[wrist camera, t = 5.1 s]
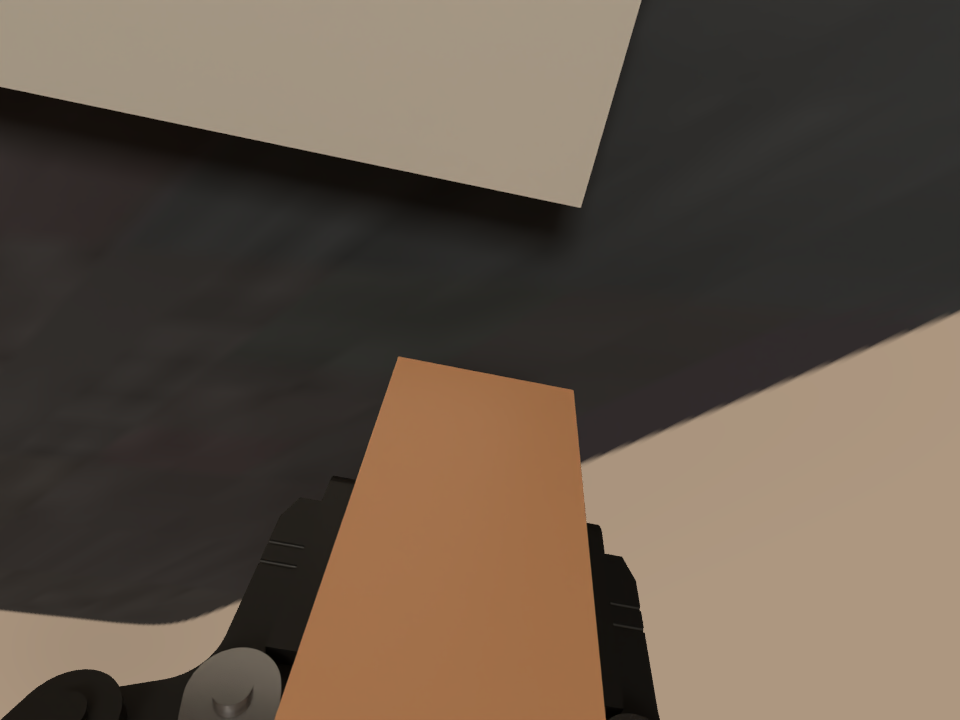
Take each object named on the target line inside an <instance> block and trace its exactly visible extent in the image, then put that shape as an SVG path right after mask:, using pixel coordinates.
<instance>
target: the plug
mask: <svg viewBox="0 0 960 720" xmlns="http://www.w3.org/2000/svg"><path fill="white" fill-rule="evenodd" d="M274 720H606V717H605V706H604V696H603V686H602V676H601V666H600V656H599V645H598V635H597V625H596V615H595V605H594V595H593V584H592V574H591V564H590V554H589V544H588V534H587V524H586V514H585V503H584V493H583V483H582V473H581V463H580V452H579V442H578V432H577V422H576V412H575V402H574V391H573V390H570V389H565V388H559V387H554V386H549V385H544V384H539V383H533V382H528V381H523V380H518V379H513V378H507V377H502V376H497V375H492V374H487V373H481V372H476V371H471V370H466V369H461V368H455V367H450V366H445V365H440V364H435V363H429V362H424V361H419V360H414V359H409V358H403V357H398V359H397V362H396V365H395V368H394V371H393V374H392V377H391V380H390V383H389V386H388V389H387V392H386V394H385V397H384V400H383V403H382V406H381V409H380V412H379V415H378V418H377V421H376V424H375V427H374V430H373V432H372V435H371V438H370V441H369V444H368V447H367V450H366V453H365V456H364V459H363V462H362V465H361V468H360V471H359V473H358V476H357V479H356V482H355V485H354V488H353V491H352V494H351V497H350V500H349V503H348V506H347V509H346V511H345V514H344V517H343V520H342V523H341V526H340V529H339V532H338V535H337V538H336V541H335V544H334V547H333V549H332V552H331V555H330V558H329V561H328V564H327V567H326V570H325V573H324V576H323V579H322V582H321V585H320V588H319V590H318V593H317V596H316V599H315V602H314V605H313V608H312V611H311V614H310V617H309V620H308V623H307V626H306V628H305V631H304V634H303V637H302V640H301V643H300V646H299V649H298V652H297V655H296V658H295V661H294V664H293V666H292V669H291V672H290V675H289V678H288V681H287V684H286V687H285V690H284V693H283V696H282V699H281V702H280V704H279V707H278V710H277V713H276V716H275V719H274Z"/></svg>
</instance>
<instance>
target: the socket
mask: <svg viewBox="0 0 960 720" xmlns="http://www.w3.org/2000/svg"><path fill="white" fill-rule="evenodd" d="M640 3H641V0H0V87H4V88H9V89H14V90H18V91H23V92H28V93H33V94H37V95H42V96H47V97H52V98H57V99H61V100H66V101H71V102H76V103H81V104H85V105H90V106H95V107H100V108H105V109H109V110H114V111H119V112H124V113H128V114H133V115H138V116H143V117H148V118H152V119H157V120H162V121H167V122H172V123H176V124H181V125H186V126H191V127H196V128H200V129H205V130H210V131H215V132H219V133H224V134H229V135H234V136H239V137H243V138H248V139H253V140H258V141H263V142H267V143H272V144H277V145H282V146H287V147H291V148H296V149H301V150H306V151H310V152H315V153H320V154H325V155H330V156H334V157H339V158H344V159H349V160H354V161H358V162H363V163H368V164H373V165H378V166H382V167H387V168H392V169H397V170H401V171H406V172H411V173H416V174H421V175H425V176H430V177H435V178H440V179H445V180H449V181H454V182H459V183H464V184H469V185H473V186H478V187H483V188H488V189H493V190H497V191H502V192H507V193H512V194H516V195H521V196H526V197H531V198H536V199H540V200H545V201H550V202H555V203H560V204H564V205H569V206H574V207H579V208H581V205H582V202H583V198H584V195H585V192H586V188H587V185H588V181H589V178H590V174H591V171H592V168H593V164H594V161H595V157H596V154H597V151H598V147H599V144H600V140H601V137H602V133H603V130H604V127H605V123H606V120H607V116H608V113H609V109H610V106H611V103H612V99H613V96H614V92H615V89H616V85H617V82H618V79H619V75H620V72H621V68H622V65H623V62H624V58H625V55H626V51H627V48H628V44H629V41H630V38H631V34H632V31H633V27H634V24H635V20H636V17H637V14H638V10H639V7H640Z"/></svg>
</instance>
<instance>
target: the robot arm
mask: <svg viewBox="0 0 960 720" xmlns="http://www.w3.org/2000/svg"><path fill="white" fill-rule="evenodd" d="M355 482H356V480H354V479H349V478H343V477H338V476H333V477H332V478H331V480H330V482H329V485H328V487H327V490H326V493H325V495H324V498H323V500H322V501H316V500H311V499H305V498H299V499H298V500H297V501H296V502H295V503H294V504H293V505H292V506H291V507H290V508H288V509H287V510H286V511H285V512H284V513H283V514H282V515H281V516H280V518H279V520H278V522H277V524H276V527H275V529H274V531H273V533H272V535H271V538H270V541H269V544H267V546H266V548H265V551H264V553H263V555H262V557H261V561H260V564H258V566H257V568H256V570H255V573H254V575H253V577H252V579H251V581H250V584H249V586H248V588H247V590H246V592H245V594H244V597H243V599H242V601H241V603H240V605H239V608H238V610H237V612H236V614H235V616H234V619H233V621H232V623H231V625H230V627H229V630H228V632H227V634H226V636H225V638H224V640H223V641H222V643H221V645H220V646H219V647H218V649H217V650H216V651H215V652H214V653H213V654H212V655H211V656H210V657H209V658H208V659H207V660H206V661H204V662H203V663H202V664H200V665H199V666H197V667H196V668H194V669H192V670H190V671H189V672H187V673H185V674H182V675H179V676H176V677H173V678H168V679H164V680H158V681H151V682H146V683H139V684H133V685H127V686H120V687H119V685H118V684H117V683H116V681H115V680H114V679H113V678H112V677H111V676H109V675H108V674H105V673H103V672H101V671H97V670H88V669H84V670H75V671H71V672H67V673H64V674H61V675H58V676H56V677H54V678H52V679H50V680H48V681H46V682H45V683H43V684H42V685H40V686H38V687H37V688H36V689H35V690H33V691H32V692H31V693H30V694H28V695H27V696H26V697H25V698H24V699H23V700H22V701H21V702H20V703H19V704H18V705H17V706H15V707H14V708H13V709H12V710H11V711H10V712H9V713H8V714H7V715H5V716H4V717H3V718H2V719H1V720H274V719H275V716H276V713H277V710H278V707H279V704H280V702H281V699H282V696H283V693H284V690H285V687H286V684H287V681H288V678H289V675H290V672H291V669H292V666H293V664H294V661H295V658H296V655H297V652H298V649H299V646H300V643H301V640H302V637H303V634H304V631H305V628H306V626H307V623H308V620H309V617H310V614H311V611H312V608H313V605H314V602H315V599H316V596H317V593H318V590H319V588H320V585H321V582H322V579H323V576H324V573H325V570H326V567H327V564H328V561H329V558H330V555H331V552H332V549H333V547H334V544H335V541H336V538H337V535H338V532H339V529H340V526H341V523H342V520H343V517H344V514H345V511H346V509H347V506H348V503H349V500H350V497H351V494H352V491H353V488H354V485H355ZM586 524H587V534H588V544H589V554H590V564H591V574H592V584H593V595H594V605H595V615H596V625H597V635H598V645H599V656H600V666H601V676H602V686H603V696H604V706H605V717H606V720H660V718H659V715H658V710H657V704H656V699H655V692H654V686H653V680H652V674H651V668H650V662H649V656H648V650H647V644H646V639H645V633H643V628H644V627H643V621H642V615H641V611H640V610H639V609H640V603H639V597H638V591H637V586H636V581H635V579H634V577H633V575H632V574H631V572H630V570H629V568H628V567H627V565H626V563H625V562H624V560H623V558H622V557H620V556H614V555H609V554H604V545H603V537H602V531H601V528H600V526H599V525H595V524H590V523H586Z"/></svg>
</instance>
